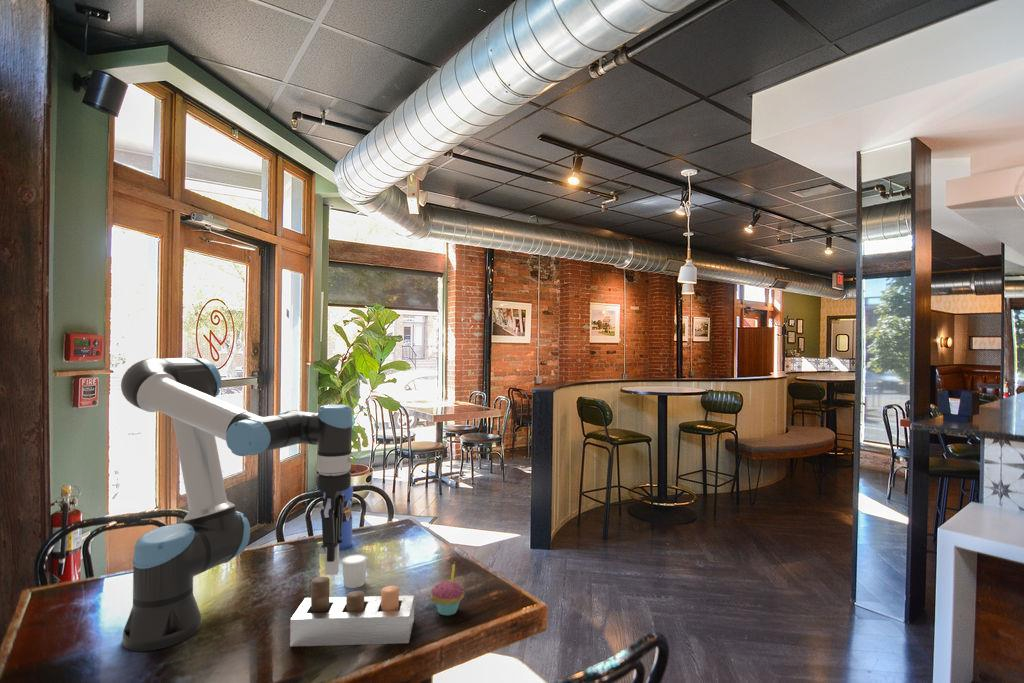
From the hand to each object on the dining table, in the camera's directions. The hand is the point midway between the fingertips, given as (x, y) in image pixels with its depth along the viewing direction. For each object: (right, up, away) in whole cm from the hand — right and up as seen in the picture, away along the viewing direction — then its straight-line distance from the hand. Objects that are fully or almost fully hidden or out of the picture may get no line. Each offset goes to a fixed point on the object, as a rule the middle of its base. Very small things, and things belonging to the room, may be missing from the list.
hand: (331, 573), depth 123 cm
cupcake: (+26, -14, +10) cm, 31 cm away
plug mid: (+5, -12, 0) cm, 13 cm away
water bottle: (-16, -15, +54) cm, 58 cm away
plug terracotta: (+13, -11, +1) cm, 17 cm away
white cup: (-2, -14, +26) cm, 29 cm away
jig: (+5, -14, 0) cm, 15 cm away
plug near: (-2, -9, 0) cm, 9 cm away
